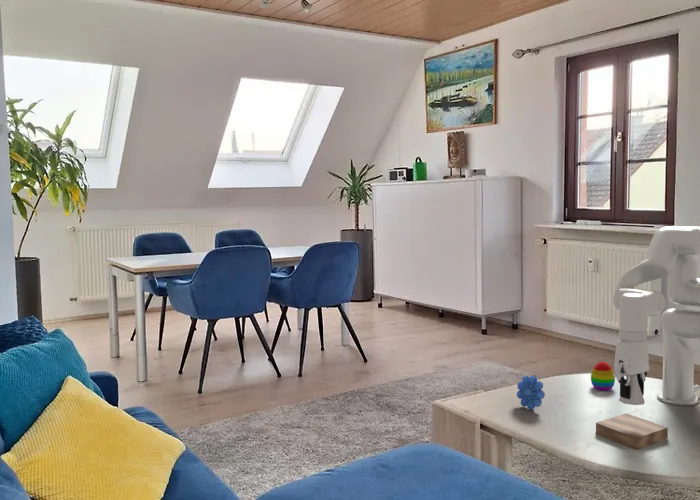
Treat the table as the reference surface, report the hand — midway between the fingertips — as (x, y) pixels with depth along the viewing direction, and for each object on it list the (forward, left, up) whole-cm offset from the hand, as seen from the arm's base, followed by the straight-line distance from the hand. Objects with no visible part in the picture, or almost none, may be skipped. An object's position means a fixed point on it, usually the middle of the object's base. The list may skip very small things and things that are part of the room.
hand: (631, 395), depth 193 cm
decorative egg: (-29, -34, -13) cm, 47 cm away
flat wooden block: (0, 0, -13) cm, 13 cm away
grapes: (+7, -33, -13) cm, 36 cm away
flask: (0, 0, -2) cm, 2 cm away
